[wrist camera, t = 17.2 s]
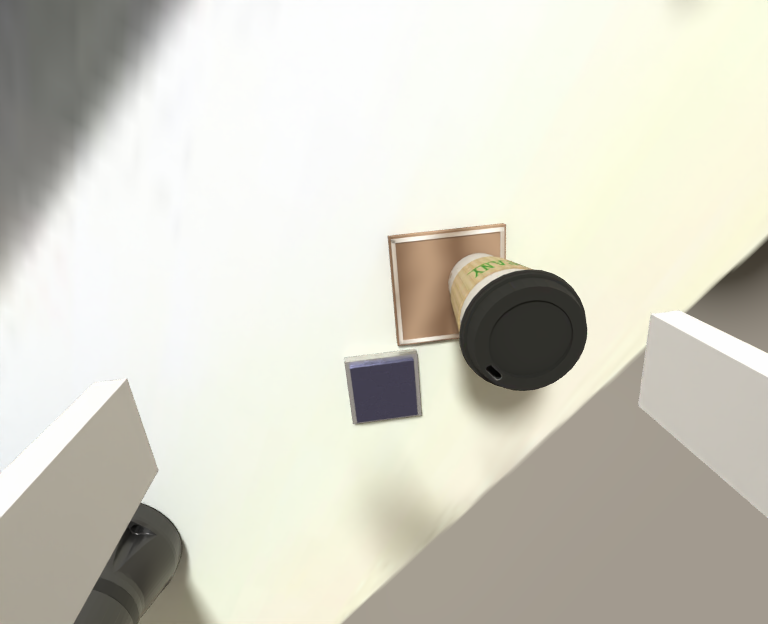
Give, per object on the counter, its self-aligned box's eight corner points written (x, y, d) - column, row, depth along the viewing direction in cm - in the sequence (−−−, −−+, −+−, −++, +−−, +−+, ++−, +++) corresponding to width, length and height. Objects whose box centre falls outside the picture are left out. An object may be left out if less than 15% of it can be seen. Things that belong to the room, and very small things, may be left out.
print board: (397, 342, 49) (398, 346, 48) (387, 235, 45) (388, 237, 44) (502, 329, 50) (505, 333, 49) (503, 223, 46) (506, 224, 45)
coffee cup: (541, 280, 47) (621, 338, 33) (472, 341, 49) (520, 420, 35) (482, 214, 44) (542, 247, 30) (411, 283, 46) (437, 343, 32)
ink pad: (352, 418, 52) (353, 427, 50) (344, 357, 49) (344, 365, 48) (419, 409, 53) (422, 417, 51) (415, 348, 50) (418, 355, 48)
